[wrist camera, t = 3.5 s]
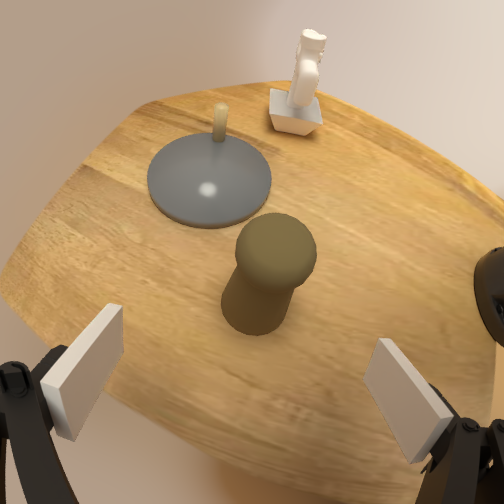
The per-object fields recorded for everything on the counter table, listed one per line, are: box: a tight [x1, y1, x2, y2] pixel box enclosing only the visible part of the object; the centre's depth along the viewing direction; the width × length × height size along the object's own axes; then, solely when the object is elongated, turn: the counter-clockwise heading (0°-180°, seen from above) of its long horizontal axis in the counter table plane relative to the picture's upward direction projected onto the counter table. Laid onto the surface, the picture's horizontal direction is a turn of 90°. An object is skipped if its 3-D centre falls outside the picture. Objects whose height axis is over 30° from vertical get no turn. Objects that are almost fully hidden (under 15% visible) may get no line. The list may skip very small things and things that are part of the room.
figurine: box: [269, 29, 327, 136], centre depth 35 cm, size 7×9×15 cm
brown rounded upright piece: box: [221, 213, 317, 336], centre depth 23 cm, size 6×6×11 cm
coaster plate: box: [147, 102, 271, 229], centre depth 32 cm, size 14×14×6 cm
